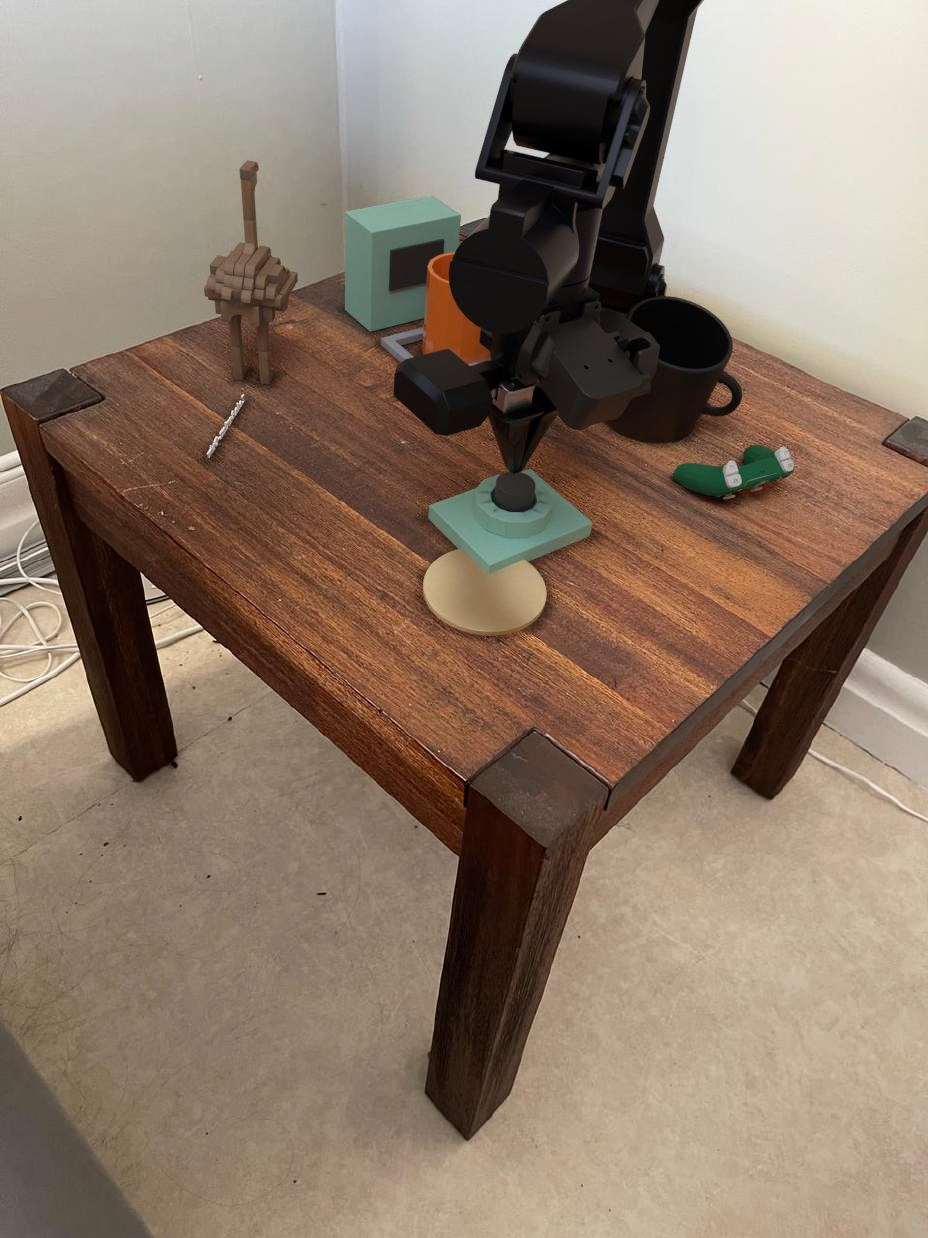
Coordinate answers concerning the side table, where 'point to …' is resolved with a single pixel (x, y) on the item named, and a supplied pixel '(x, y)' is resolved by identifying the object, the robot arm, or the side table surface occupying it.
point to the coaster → (483, 594)
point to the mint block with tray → (395, 263)
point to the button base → (508, 524)
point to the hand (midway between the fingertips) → (513, 470)
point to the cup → (448, 317)
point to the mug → (679, 370)
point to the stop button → (514, 492)
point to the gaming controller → (737, 472)
